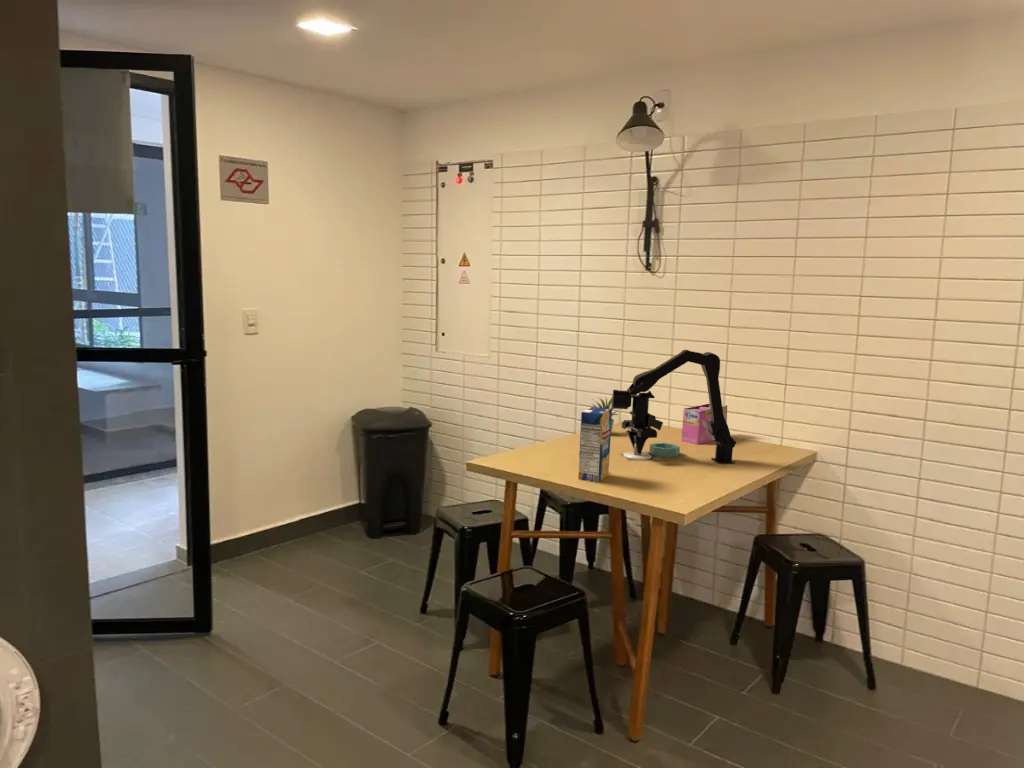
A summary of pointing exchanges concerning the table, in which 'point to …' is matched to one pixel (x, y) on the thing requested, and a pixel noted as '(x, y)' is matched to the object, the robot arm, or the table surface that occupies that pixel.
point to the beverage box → (595, 444)
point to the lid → (637, 455)
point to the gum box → (698, 424)
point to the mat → (635, 460)
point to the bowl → (664, 450)
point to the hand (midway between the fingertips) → (637, 452)
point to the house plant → (606, 408)
